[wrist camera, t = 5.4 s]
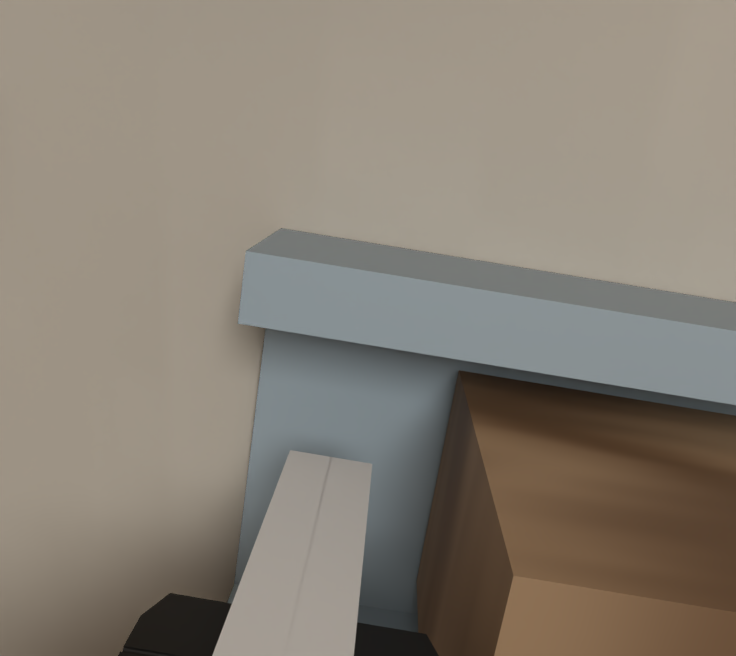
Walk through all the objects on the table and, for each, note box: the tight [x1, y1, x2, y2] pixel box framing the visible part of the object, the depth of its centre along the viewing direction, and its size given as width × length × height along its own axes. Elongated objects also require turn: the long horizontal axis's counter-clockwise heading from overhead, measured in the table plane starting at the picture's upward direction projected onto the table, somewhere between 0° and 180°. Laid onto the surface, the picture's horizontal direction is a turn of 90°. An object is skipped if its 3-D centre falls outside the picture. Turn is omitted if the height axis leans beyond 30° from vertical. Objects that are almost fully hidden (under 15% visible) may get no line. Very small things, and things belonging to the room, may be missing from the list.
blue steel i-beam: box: [227, 228, 736, 632], centre depth 14 cm, size 16×9×3 cm, turn 81°
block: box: [416, 370, 736, 656], centre depth 11 cm, size 6×5×7 cm
